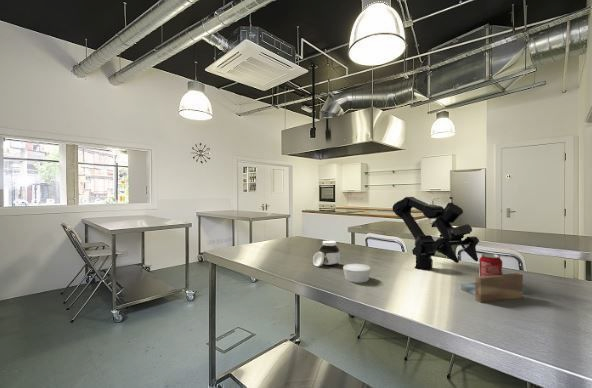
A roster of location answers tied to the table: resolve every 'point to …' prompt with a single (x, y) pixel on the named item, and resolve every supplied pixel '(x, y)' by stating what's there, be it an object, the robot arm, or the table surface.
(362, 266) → the ramekin
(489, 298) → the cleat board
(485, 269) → the soda can
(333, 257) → the spread jar
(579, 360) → the table surface
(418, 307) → the table surface
